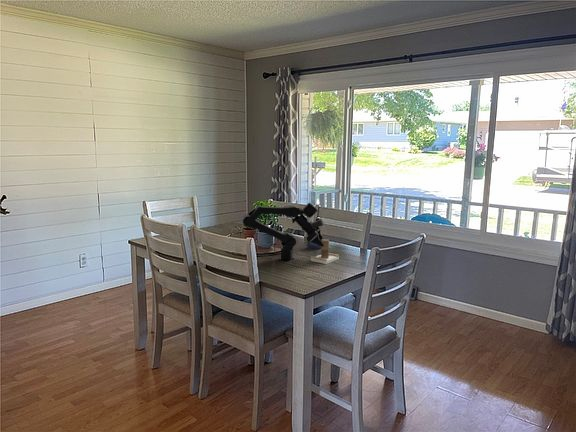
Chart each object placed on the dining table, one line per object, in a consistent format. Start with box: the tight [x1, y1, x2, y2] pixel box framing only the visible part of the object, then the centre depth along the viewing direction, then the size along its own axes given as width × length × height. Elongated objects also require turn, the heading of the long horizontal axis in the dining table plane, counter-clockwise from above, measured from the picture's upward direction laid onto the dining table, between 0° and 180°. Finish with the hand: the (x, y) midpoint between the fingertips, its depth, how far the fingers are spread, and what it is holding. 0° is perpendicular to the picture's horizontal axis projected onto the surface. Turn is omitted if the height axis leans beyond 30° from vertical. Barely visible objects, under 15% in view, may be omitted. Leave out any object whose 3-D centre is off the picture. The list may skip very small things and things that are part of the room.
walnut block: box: [320, 238, 330, 258], centre depth 239 cm, size 4×4×10 cm
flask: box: [306, 233, 323, 250], centre depth 264 cm, size 9×3×11 cm, turn 88°
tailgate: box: [309, 252, 340, 265], centre depth 240 cm, size 13×11×2 cm
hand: (324, 244), depth 239 cm, fingers open, 9 cm apart
